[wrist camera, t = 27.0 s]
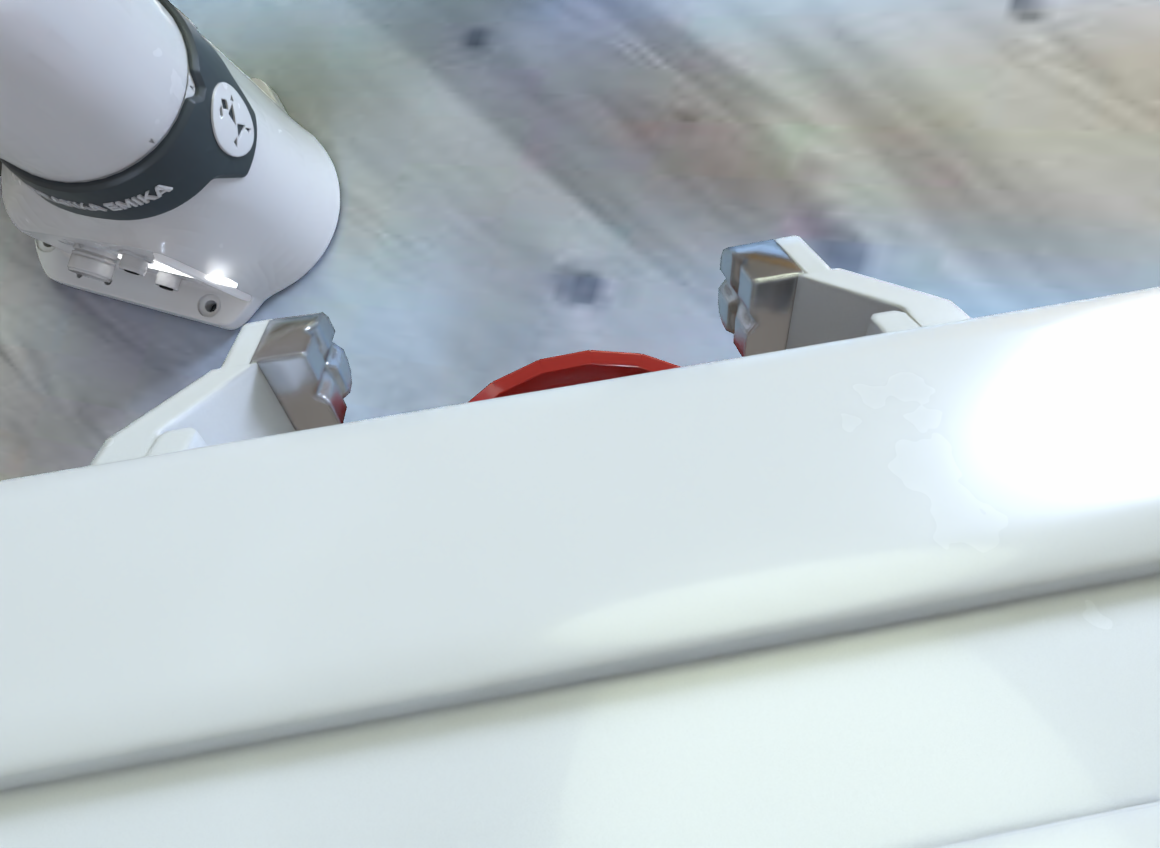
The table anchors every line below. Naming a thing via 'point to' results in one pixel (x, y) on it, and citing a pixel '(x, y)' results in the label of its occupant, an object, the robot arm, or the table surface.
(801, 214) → the table surface
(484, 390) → the pot
